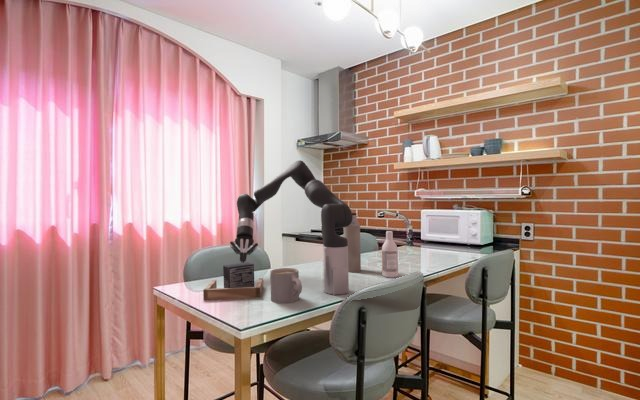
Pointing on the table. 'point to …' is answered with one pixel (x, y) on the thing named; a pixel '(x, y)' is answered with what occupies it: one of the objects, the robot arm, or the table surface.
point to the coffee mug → (285, 285)
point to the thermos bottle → (353, 244)
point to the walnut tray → (232, 291)
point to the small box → (238, 275)
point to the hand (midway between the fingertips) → (242, 261)
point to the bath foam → (389, 256)
